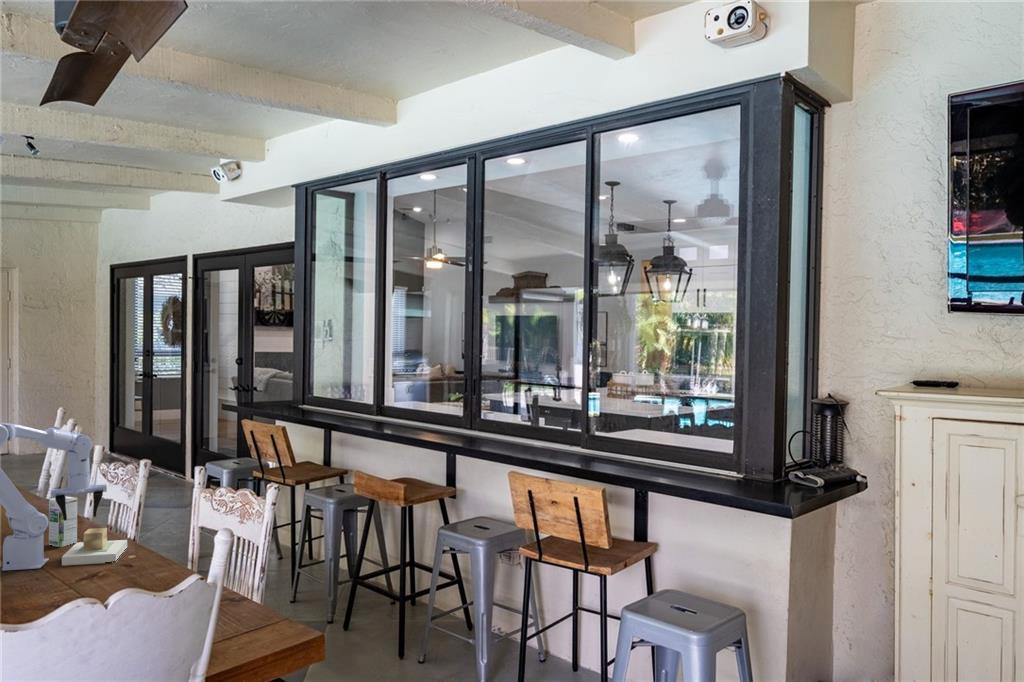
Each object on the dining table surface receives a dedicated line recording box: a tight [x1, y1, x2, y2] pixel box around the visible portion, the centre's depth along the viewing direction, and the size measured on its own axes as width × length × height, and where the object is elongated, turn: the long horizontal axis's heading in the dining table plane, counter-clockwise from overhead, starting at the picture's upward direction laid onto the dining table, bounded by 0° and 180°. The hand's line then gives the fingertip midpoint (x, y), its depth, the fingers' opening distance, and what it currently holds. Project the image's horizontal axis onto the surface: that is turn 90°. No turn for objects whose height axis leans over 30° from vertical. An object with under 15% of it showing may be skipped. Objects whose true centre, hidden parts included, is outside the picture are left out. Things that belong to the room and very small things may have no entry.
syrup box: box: [48, 495, 78, 548], centre depth 236 cm, size 6×6×14 cm
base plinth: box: [61, 539, 128, 567], centre depth 225 cm, size 14×14×3 cm
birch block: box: [83, 527, 108, 550], centre depth 225 cm, size 5×5×5 cm
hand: (80, 517), depth 229 cm, fingers open, 7 cm apart
